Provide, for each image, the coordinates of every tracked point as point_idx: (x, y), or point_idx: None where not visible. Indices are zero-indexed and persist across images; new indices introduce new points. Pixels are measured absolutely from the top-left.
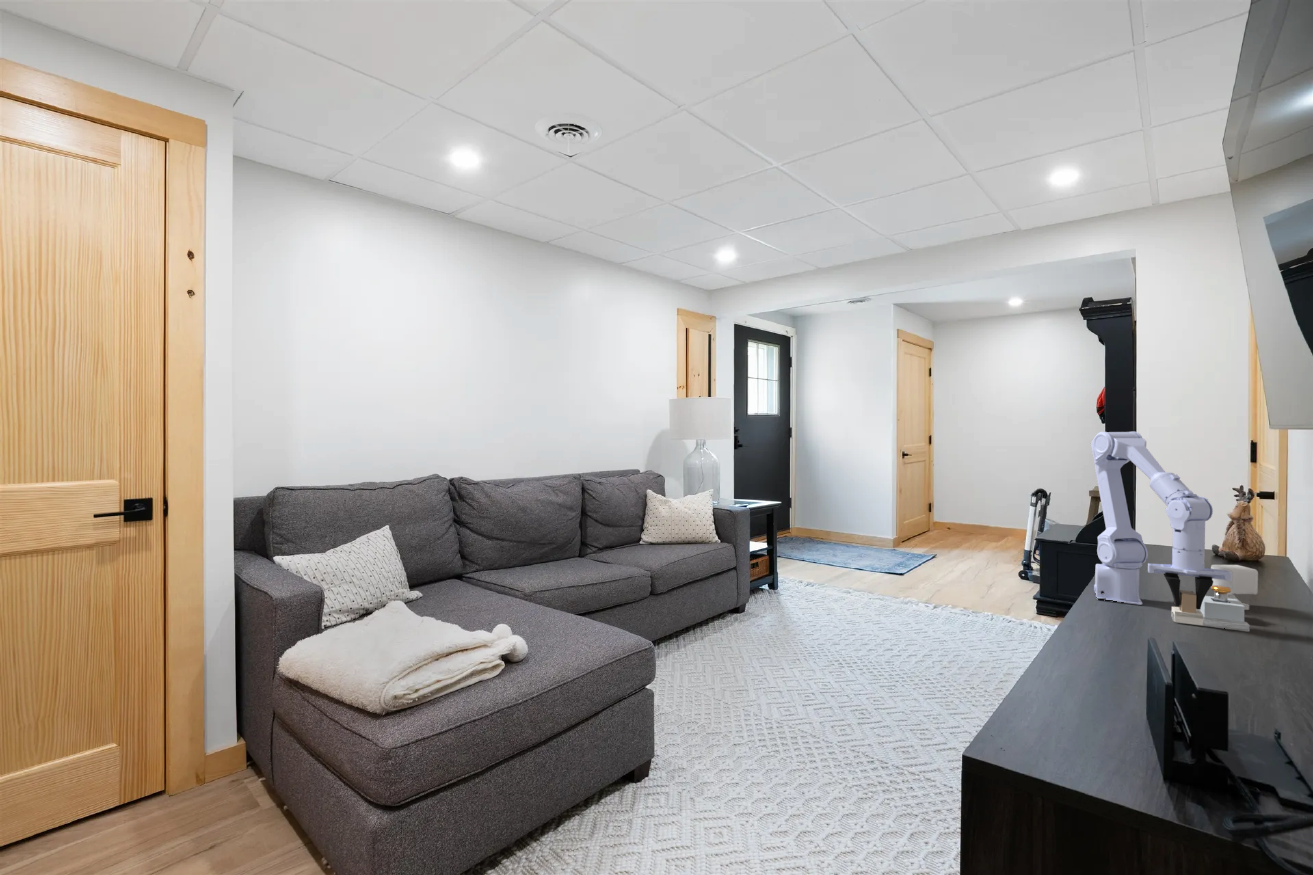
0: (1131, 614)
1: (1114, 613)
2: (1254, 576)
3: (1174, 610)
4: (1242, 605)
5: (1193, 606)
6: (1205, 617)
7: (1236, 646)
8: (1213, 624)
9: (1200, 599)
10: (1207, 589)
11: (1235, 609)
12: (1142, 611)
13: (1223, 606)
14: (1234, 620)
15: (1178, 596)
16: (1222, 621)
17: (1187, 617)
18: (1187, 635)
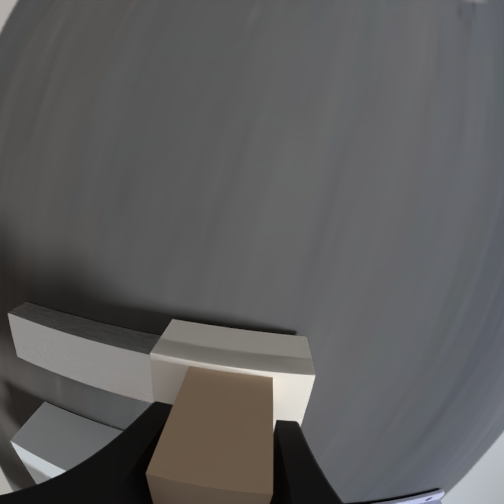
0: (440, 393)
1: (493, 370)
2: None
3: (310, 391)
4: (18, 452)
5: (193, 399)
6: (143, 393)
7: (135, 7)
8: (124, 336)
9: (126, 444)
10: (30, 491)
11: (39, 442)
12: (368, 454)
13: (67, 462)
14: (62, 415)
15: (295, 477)
16: (81, 341)
17: (243, 349)
18: (314, 83)
